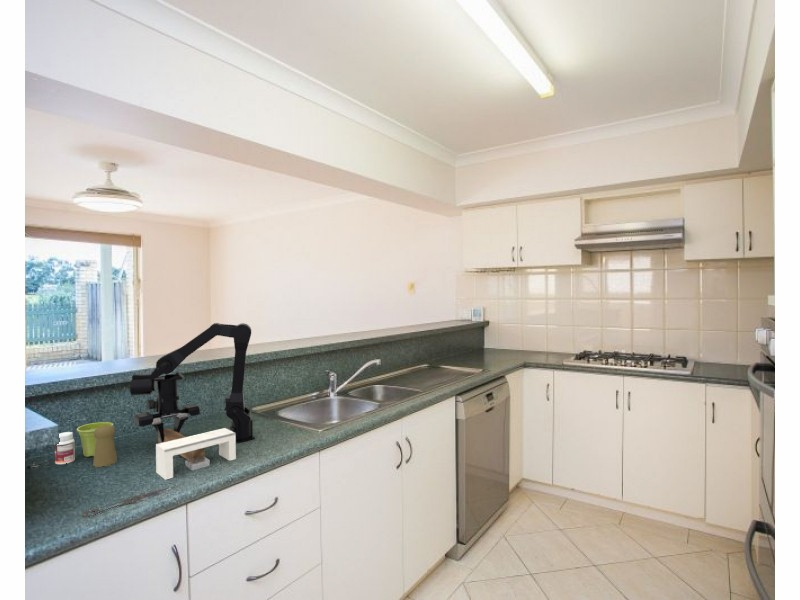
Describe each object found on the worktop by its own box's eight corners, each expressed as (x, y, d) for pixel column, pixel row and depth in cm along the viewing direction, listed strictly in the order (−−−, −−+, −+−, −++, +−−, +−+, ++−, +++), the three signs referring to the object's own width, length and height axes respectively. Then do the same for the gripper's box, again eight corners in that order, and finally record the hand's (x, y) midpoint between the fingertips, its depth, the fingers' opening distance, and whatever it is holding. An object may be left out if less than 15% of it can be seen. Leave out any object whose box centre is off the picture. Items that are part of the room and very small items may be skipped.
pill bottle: (58, 459, 134) (57, 432, 134) (77, 457, 136) (76, 430, 136) (52, 465, 130) (51, 437, 130) (71, 463, 131) (71, 435, 131)
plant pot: (104, 446, 146) (103, 420, 146) (119, 451, 141) (119, 424, 141) (71, 455, 138) (71, 427, 138) (86, 461, 133) (85, 433, 133)
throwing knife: (79, 514, 102) (79, 511, 102) (171, 485, 117) (171, 483, 117) (84, 521, 99) (84, 518, 99) (177, 490, 114) (177, 488, 114)
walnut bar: (169, 439, 149) (169, 427, 149) (204, 459, 134) (204, 446, 134) (158, 442, 147) (158, 430, 146) (193, 463, 132) (193, 449, 131)
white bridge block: (225, 453, 139) (224, 427, 139) (235, 458, 135) (235, 432, 134) (156, 472, 125) (155, 444, 125) (165, 479, 120) (164, 450, 120)
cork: (113, 457, 136) (112, 422, 136) (120, 462, 132) (119, 425, 132) (90, 463, 131) (89, 426, 131) (97, 468, 128) (96, 431, 127)
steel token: (202, 462, 133) (202, 455, 133) (209, 466, 130) (209, 460, 130) (185, 466, 130) (185, 460, 130) (192, 471, 126) (191, 464, 126)
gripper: (187, 385, 157) (188, 428, 158) (128, 394, 144) (129, 441, 144) (200, 389, 150) (201, 435, 150) (139, 400, 136) (140, 450, 137)
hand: (168, 440), depth 146 cm, fingers closed on walnut bar, 4 cm apart
